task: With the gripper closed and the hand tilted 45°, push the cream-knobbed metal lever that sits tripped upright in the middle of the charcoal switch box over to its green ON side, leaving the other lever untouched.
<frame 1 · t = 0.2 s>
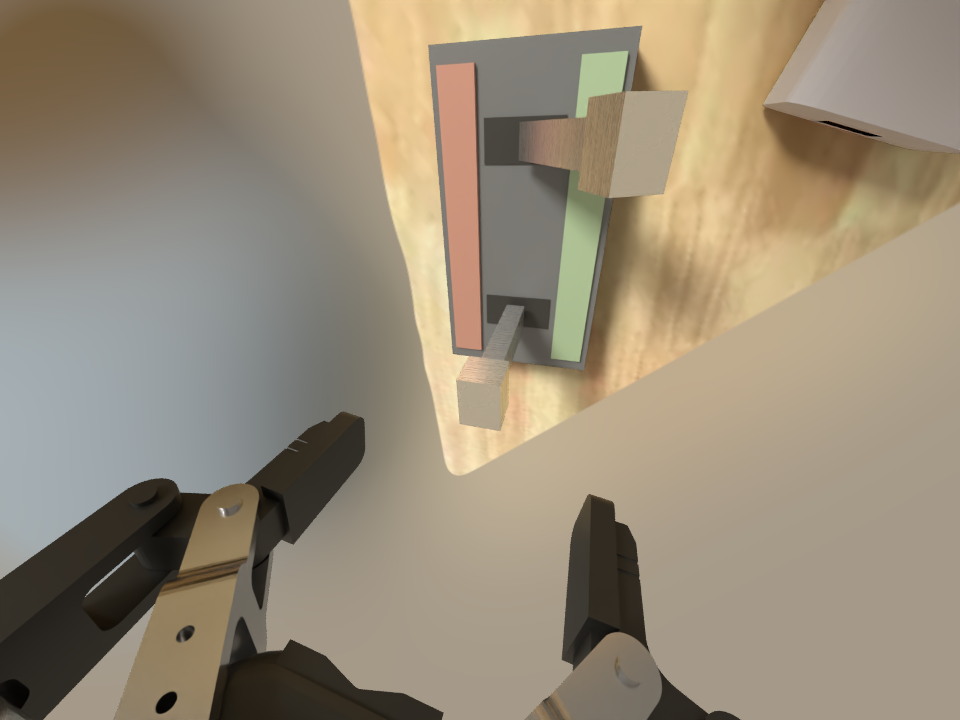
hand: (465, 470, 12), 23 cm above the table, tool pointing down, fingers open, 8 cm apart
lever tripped: (500, 353, 24), point 11 cm above the table, hinge at 0.0°
lever on: (572, 143, 17), point 10 cm above the table, hinge at 30.0°
switch box: (528, 224, 29), on the table
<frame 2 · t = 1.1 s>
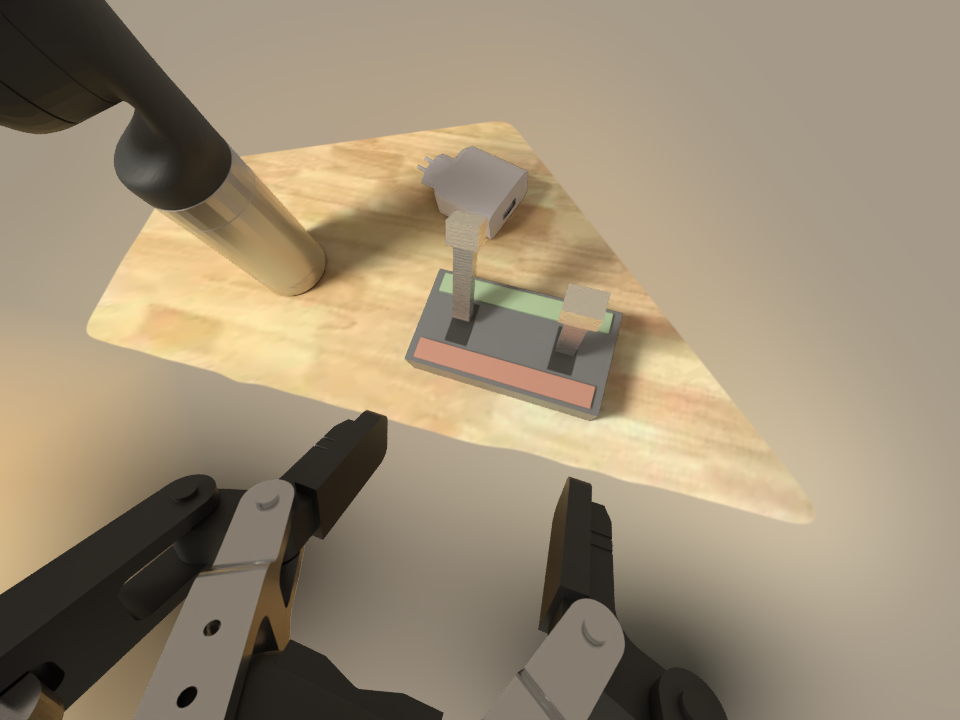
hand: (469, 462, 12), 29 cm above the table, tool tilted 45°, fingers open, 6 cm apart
charger: (466, 197, 51), on the table
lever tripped: (574, 328, 32), point 11 cm above the table, hinge at 0.0°
lever on: (464, 272, 36), point 10 cm above the table, hinge at 30.0°
switch box: (512, 347, 43), on the table
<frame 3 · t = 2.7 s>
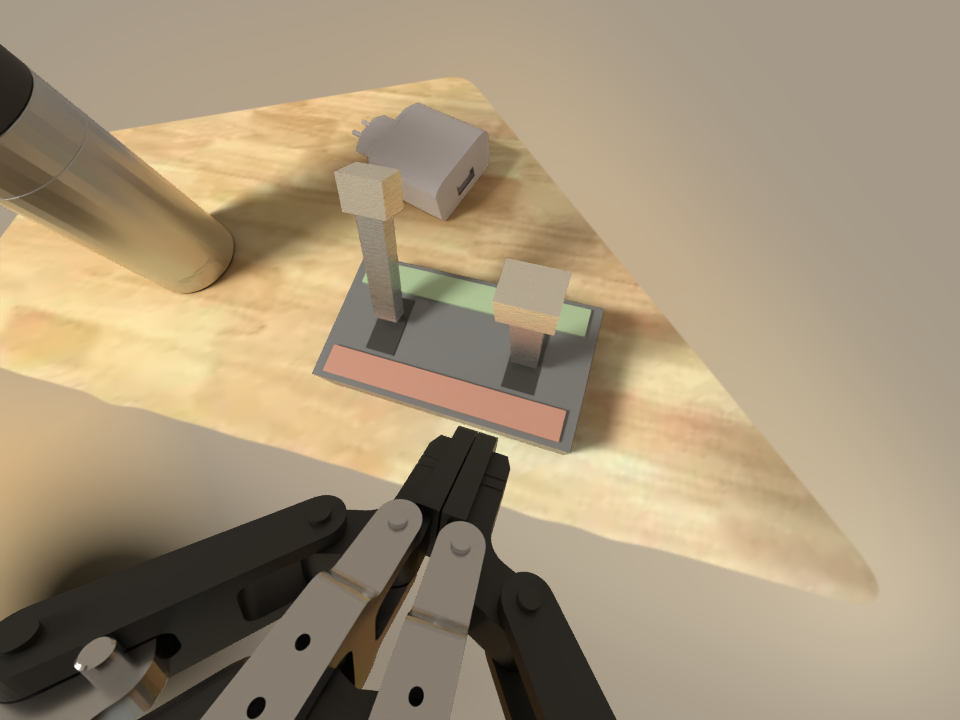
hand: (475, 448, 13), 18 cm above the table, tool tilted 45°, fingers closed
charger: (415, 170, 41), on the table
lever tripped: (528, 330, 22), point 11 cm above the table, hinge at 0.0°
lever on: (380, 253, 26), point 10 cm above the table, hinge at 30.0°
switch box: (462, 355, 33), on the table
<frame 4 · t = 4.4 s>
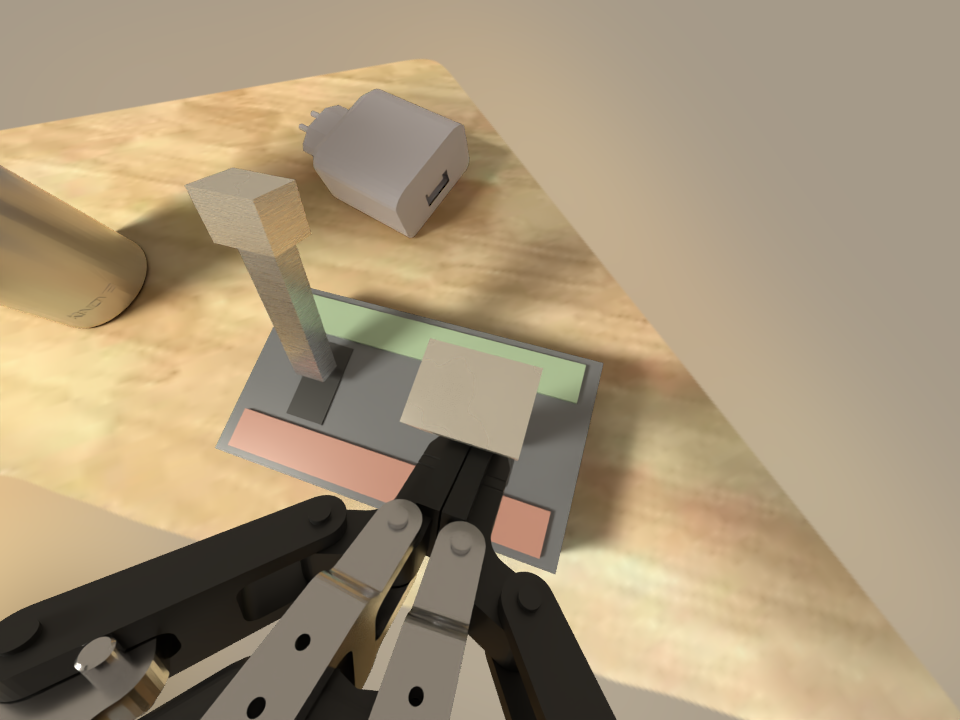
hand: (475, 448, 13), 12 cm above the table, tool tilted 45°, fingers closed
charger: (378, 173, 33), on the table
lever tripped: (488, 421, 14), point 11 cm above the table, hinge at 0.7°, touching gripper
lever on: (287, 296, 18), point 10 cm above the table, hinge at 30.0°
switch box: (421, 414, 26), on the table
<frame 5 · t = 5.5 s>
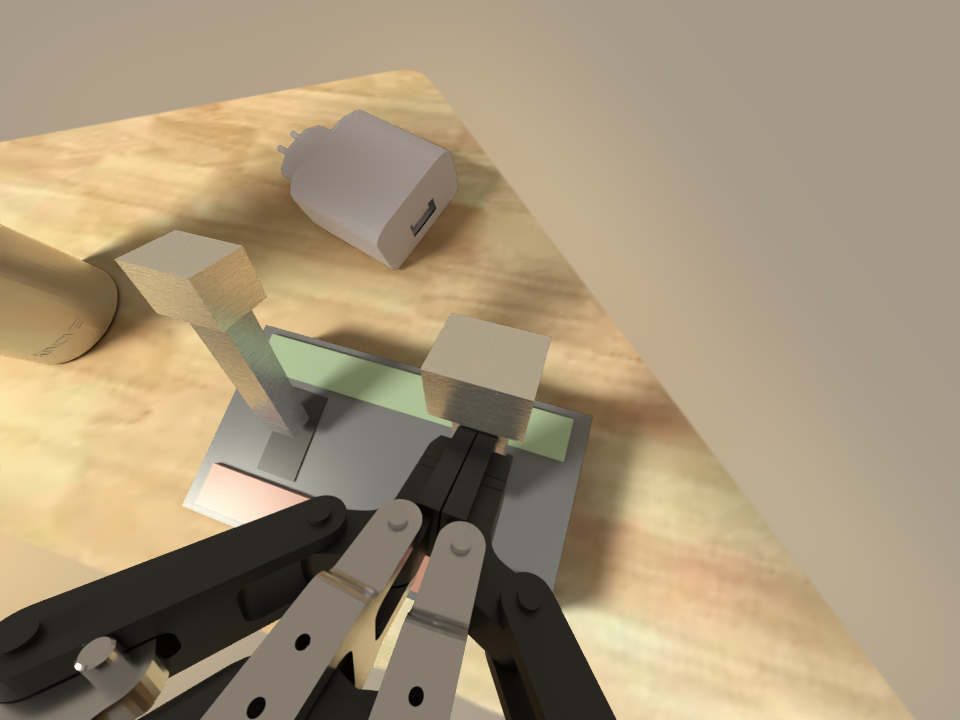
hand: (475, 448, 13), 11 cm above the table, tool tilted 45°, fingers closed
charger: (363, 197, 31), on the table
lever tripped: (482, 441, 14), point 10 cm above the table, hinge at 25.6°, touching gripper
lever on: (247, 358, 17), point 10 cm above the table, hinge at 30.0°
switch box: (403, 461, 24), on the table
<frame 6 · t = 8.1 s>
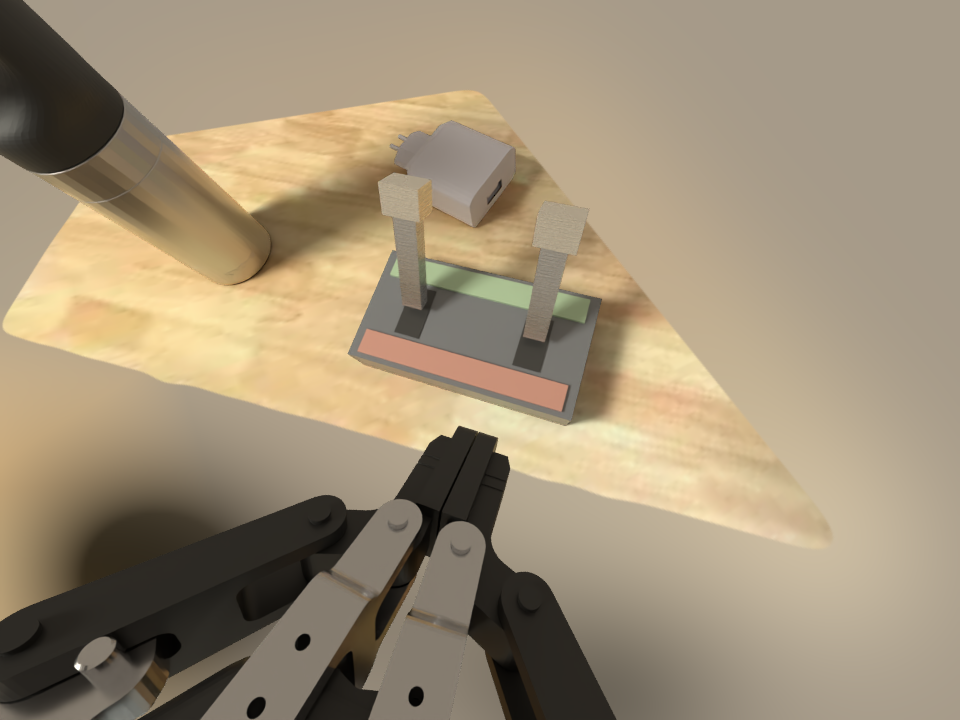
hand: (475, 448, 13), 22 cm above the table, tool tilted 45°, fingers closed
charger: (446, 180, 45), on the table
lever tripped: (547, 281, 28), point 10 cm above the table, hinge at 30.4°
lever on: (410, 250, 30), point 10 cm above the table, hinge at 30.0°
switch box: (477, 340, 37), on the table
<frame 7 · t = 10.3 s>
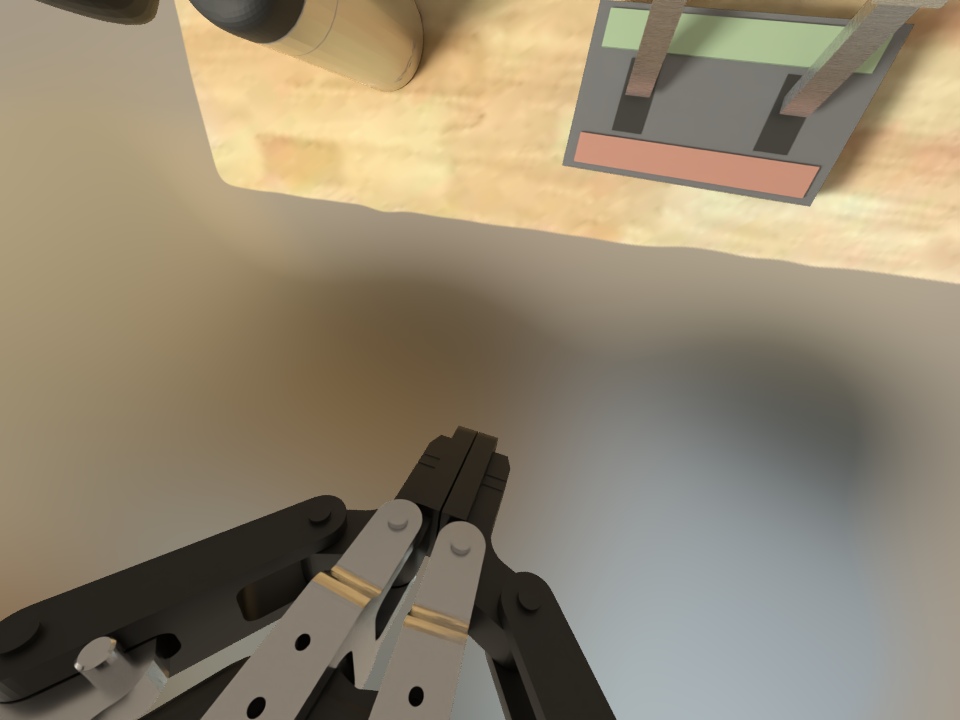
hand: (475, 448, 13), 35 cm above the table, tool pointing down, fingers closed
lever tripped: (858, 40, 22), point 10 cm above the table, hinge at 30.4°
lever on: (661, 23, 24), point 10 cm above the table, hinge at 30.0°
switch box: (697, 113, 33), on the table
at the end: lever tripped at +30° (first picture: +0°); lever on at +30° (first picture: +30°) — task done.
